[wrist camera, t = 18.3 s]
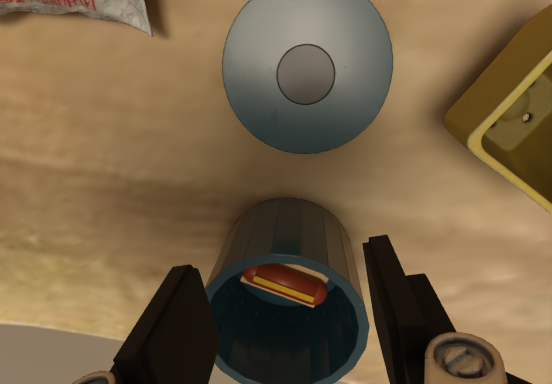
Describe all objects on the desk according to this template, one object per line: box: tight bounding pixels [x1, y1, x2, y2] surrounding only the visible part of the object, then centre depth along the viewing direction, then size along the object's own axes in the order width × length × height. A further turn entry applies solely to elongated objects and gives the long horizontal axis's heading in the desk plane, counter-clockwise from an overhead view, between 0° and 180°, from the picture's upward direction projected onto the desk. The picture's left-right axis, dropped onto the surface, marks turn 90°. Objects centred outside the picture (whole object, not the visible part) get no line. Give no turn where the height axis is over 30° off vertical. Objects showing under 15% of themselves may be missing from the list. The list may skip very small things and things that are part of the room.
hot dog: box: [240, 263, 328, 308], centre depth 27 cm, size 6×3×4 cm, turn 69°
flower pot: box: [444, 4, 552, 214], centre depth 20 cm, size 9×9×9 cm
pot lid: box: [222, 0, 393, 154], centre depth 22 cm, size 11×11×6 cm
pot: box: [205, 198, 369, 384], centre depth 25 cm, size 10×10×8 cm
